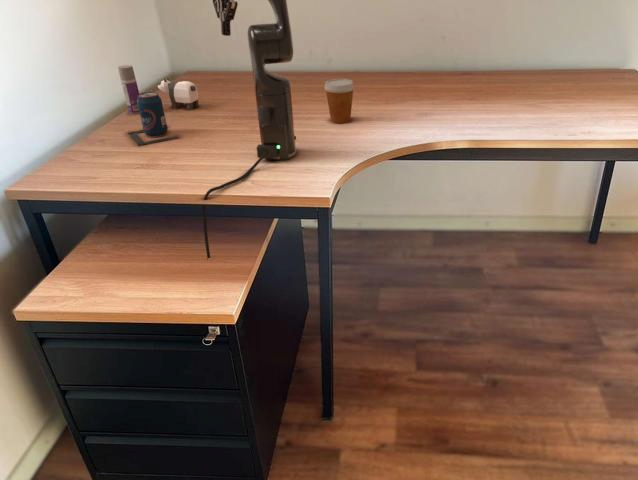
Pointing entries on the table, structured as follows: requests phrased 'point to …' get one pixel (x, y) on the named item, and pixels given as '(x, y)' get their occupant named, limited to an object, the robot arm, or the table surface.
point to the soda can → (152, 114)
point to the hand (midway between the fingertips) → (226, 35)
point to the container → (129, 87)
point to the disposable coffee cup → (339, 99)
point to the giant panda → (180, 93)
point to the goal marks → (140, 141)
